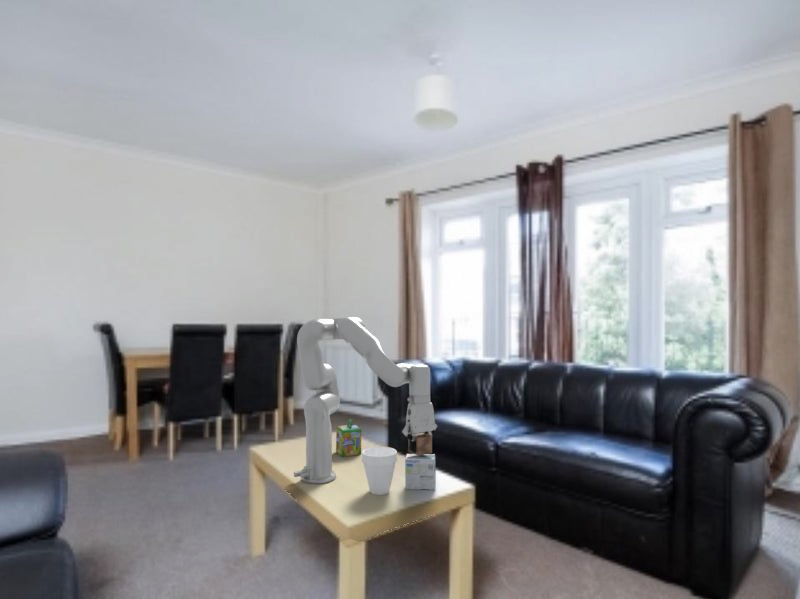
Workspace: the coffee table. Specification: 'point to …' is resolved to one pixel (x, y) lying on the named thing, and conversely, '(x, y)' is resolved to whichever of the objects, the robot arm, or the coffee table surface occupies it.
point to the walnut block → (422, 444)
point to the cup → (379, 468)
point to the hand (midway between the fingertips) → (420, 449)
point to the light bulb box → (420, 471)
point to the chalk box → (348, 440)
